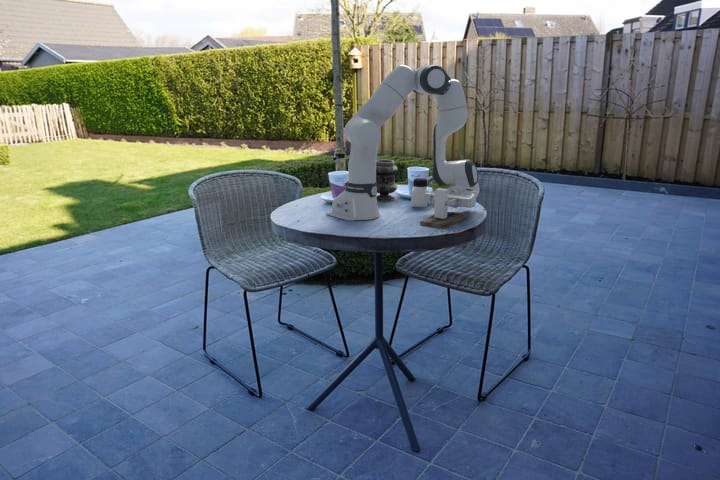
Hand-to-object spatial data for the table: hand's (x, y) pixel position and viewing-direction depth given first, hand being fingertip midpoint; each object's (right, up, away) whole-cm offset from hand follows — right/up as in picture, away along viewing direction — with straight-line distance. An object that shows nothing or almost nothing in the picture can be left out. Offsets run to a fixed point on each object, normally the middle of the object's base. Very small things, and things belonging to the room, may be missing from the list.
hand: (440, 202), depth 190 cm
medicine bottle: (-4, +1, +31) cm, 32 cm away
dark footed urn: (-19, +5, +44) cm, 48 cm away
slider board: (+2, -7, +5) cm, 9 cm away
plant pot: (+6, +3, +39) cm, 39 cm away
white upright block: (+1, -5, +2) cm, 6 cm away
